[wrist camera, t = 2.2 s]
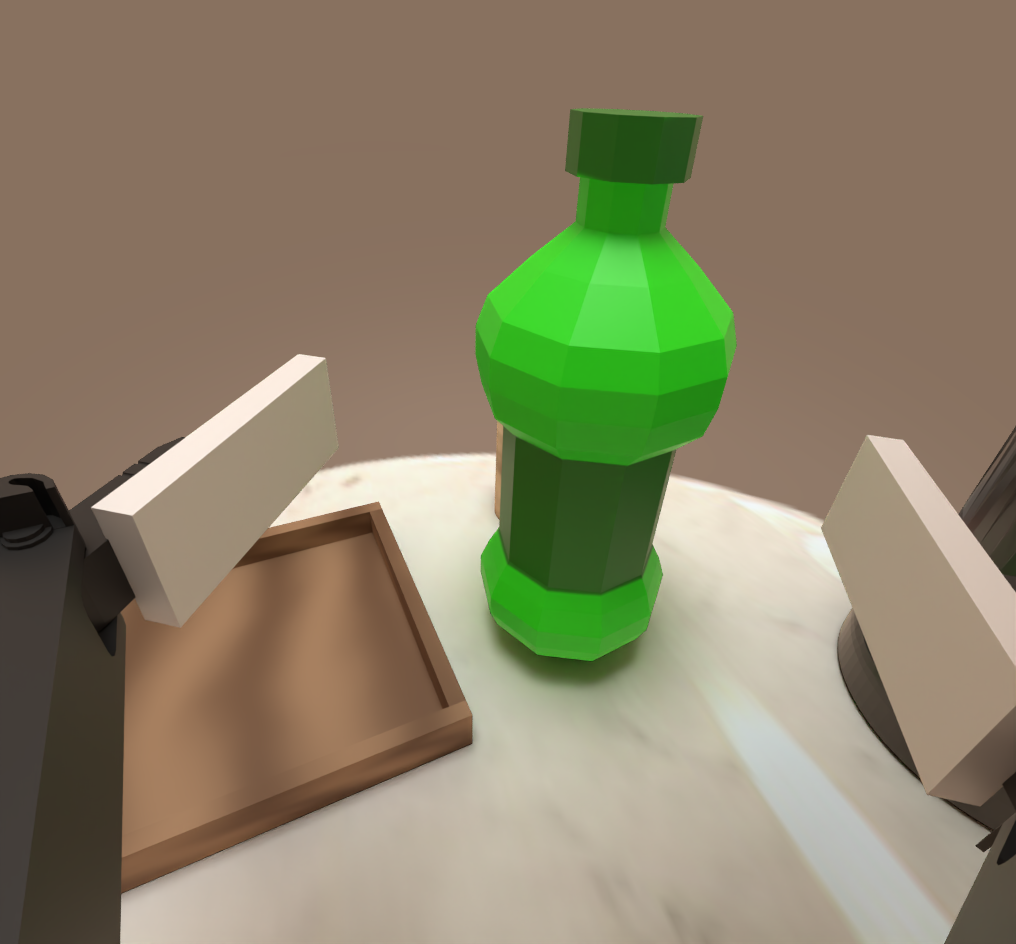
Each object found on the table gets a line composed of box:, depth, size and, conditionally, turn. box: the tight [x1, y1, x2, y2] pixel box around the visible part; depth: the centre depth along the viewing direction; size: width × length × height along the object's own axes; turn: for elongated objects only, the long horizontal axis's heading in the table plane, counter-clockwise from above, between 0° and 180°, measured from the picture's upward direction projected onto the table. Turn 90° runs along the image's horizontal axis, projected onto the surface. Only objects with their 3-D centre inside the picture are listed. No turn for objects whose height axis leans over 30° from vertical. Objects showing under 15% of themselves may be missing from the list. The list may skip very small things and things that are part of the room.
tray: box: [121, 502, 472, 893], centre depth 29 cm, size 17×17×2 cm
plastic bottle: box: [476, 109, 736, 661], centre depth 25 cm, size 10×10×25 cm
